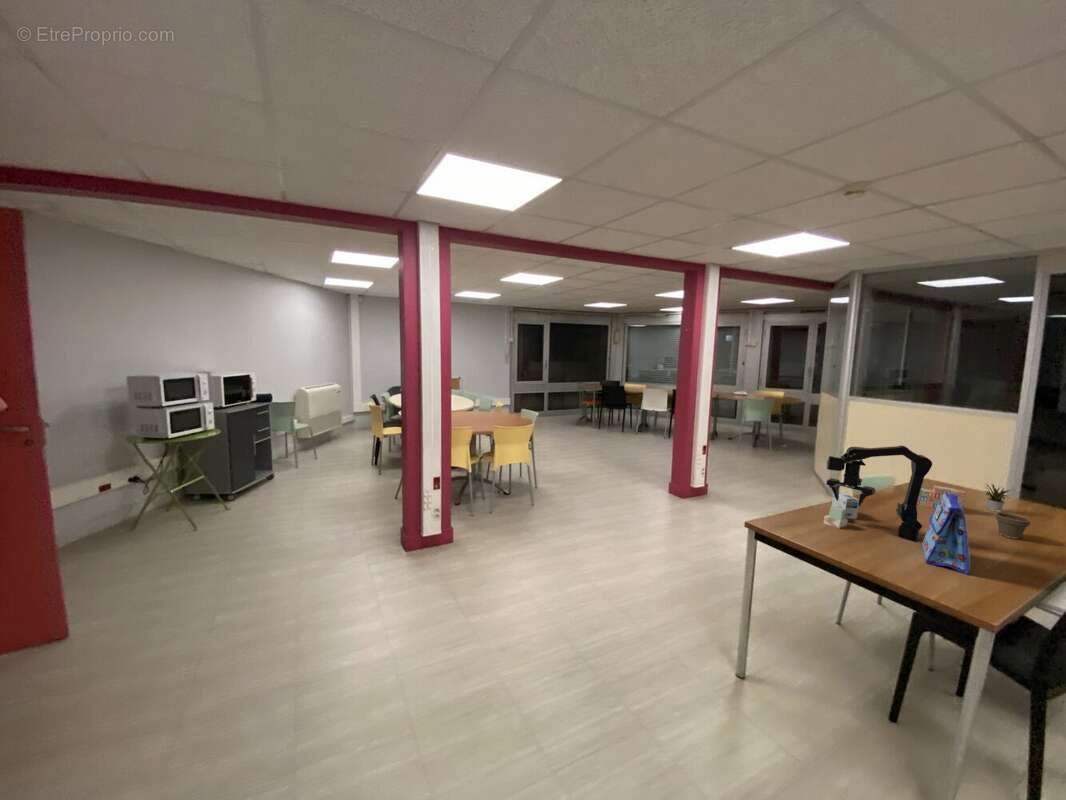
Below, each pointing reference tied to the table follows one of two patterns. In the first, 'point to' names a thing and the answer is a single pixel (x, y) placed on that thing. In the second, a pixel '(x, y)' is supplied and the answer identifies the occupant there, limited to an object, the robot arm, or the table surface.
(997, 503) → the house plant
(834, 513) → the sage block
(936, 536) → the lunch bag
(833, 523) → the birch slab
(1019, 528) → the flower pot
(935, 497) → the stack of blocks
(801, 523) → the table surface
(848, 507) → the light bulb box
